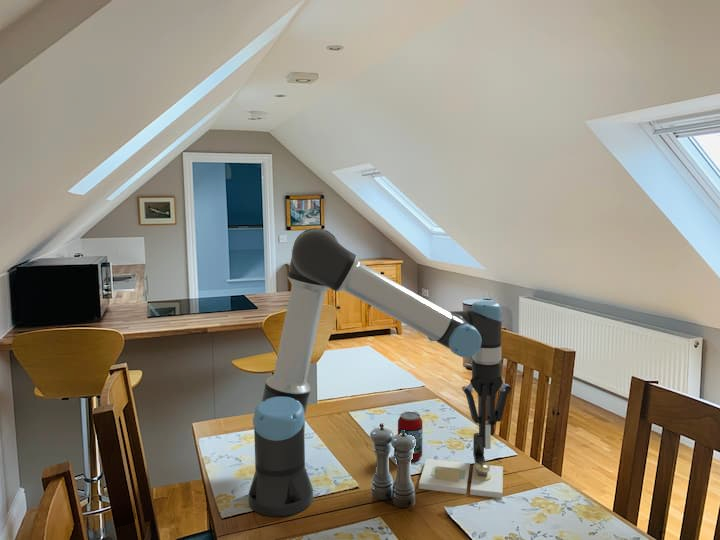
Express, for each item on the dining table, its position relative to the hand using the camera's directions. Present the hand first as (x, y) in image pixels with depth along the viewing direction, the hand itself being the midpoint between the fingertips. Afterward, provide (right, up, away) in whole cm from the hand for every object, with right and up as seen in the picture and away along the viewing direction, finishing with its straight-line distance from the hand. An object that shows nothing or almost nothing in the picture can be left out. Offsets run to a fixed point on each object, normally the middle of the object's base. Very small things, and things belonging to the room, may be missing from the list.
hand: (486, 446), depth 154 cm
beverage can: (-20, -5, +6) cm, 21 cm away
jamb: (-2, -6, -9) cm, 11 cm away
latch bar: (-3, -4, -4) cm, 6 cm away
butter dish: (-12, -6, -7) cm, 15 cm away
